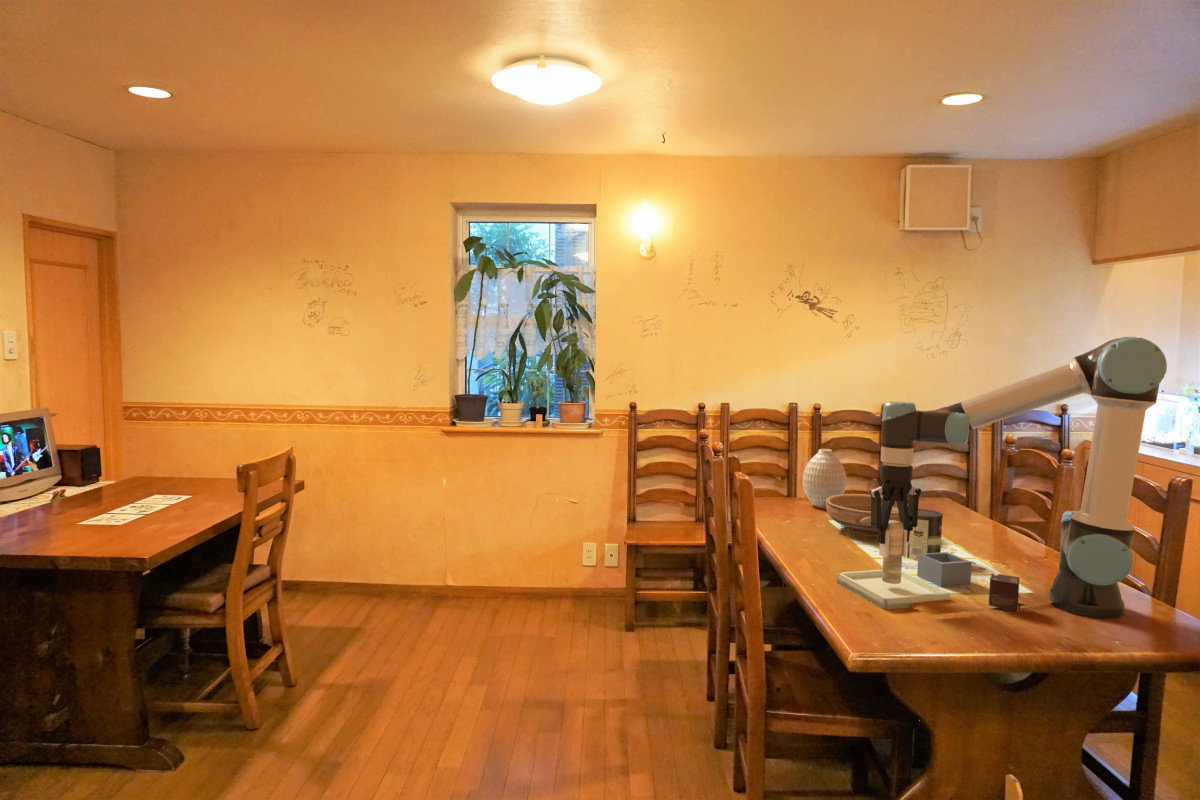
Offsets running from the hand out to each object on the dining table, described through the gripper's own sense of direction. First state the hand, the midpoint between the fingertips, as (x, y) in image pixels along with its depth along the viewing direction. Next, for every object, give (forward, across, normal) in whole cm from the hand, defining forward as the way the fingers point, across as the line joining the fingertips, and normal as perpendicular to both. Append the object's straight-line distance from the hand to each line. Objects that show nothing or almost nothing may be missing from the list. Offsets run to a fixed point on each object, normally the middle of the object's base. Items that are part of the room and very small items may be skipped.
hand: (892, 555), depth 182 cm
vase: (+10, -37, -92) cm, 100 cm away
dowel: (+7, 0, 0) cm, 7 cm away
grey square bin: (+10, -18, -3) cm, 21 cm away
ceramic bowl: (+10, -31, -54) cm, 63 cm away
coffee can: (+10, -27, -23) cm, 37 cm away
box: (+10, -20, +15) cm, 27 cm away
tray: (+10, 0, 0) cm, 10 cm away
